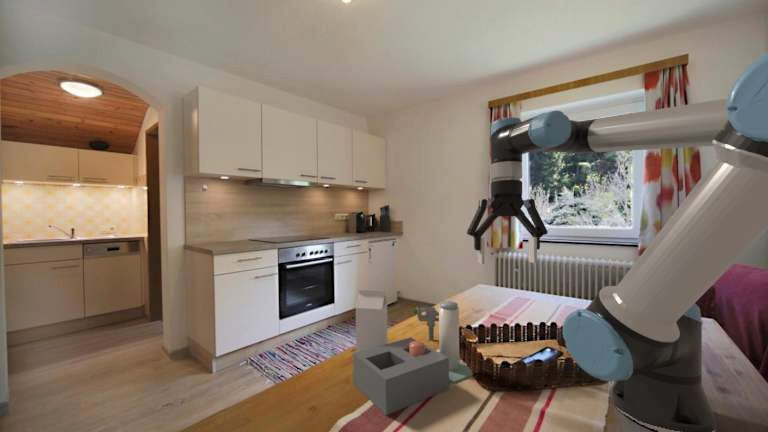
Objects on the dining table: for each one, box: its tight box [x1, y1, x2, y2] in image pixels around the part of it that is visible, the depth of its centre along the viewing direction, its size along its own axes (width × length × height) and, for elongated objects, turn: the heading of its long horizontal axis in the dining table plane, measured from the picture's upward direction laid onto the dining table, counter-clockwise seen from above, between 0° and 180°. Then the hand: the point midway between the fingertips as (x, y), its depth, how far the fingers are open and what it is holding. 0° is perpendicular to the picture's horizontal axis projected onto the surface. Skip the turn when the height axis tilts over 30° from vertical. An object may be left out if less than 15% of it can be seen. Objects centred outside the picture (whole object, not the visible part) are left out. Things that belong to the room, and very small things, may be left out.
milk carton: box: [355, 289, 389, 353], centre depth 84 cm, size 7×7×19 cm
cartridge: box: [438, 300, 460, 371], centre depth 79 cm, size 5×5×16 cm
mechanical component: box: [413, 306, 439, 342], centre depth 97 cm, size 3×10×10 cm, turn 89°
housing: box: [352, 337, 450, 416], centre depth 71 cm, size 14×17×7 cm
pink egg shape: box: [409, 340, 426, 357], centre depth 73 cm, size 4×4×8 cm
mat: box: [449, 359, 474, 384], centre depth 79 cm, size 12×9×1 cm
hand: (507, 262), depth 79 cm, fingers open, 13 cm apart
